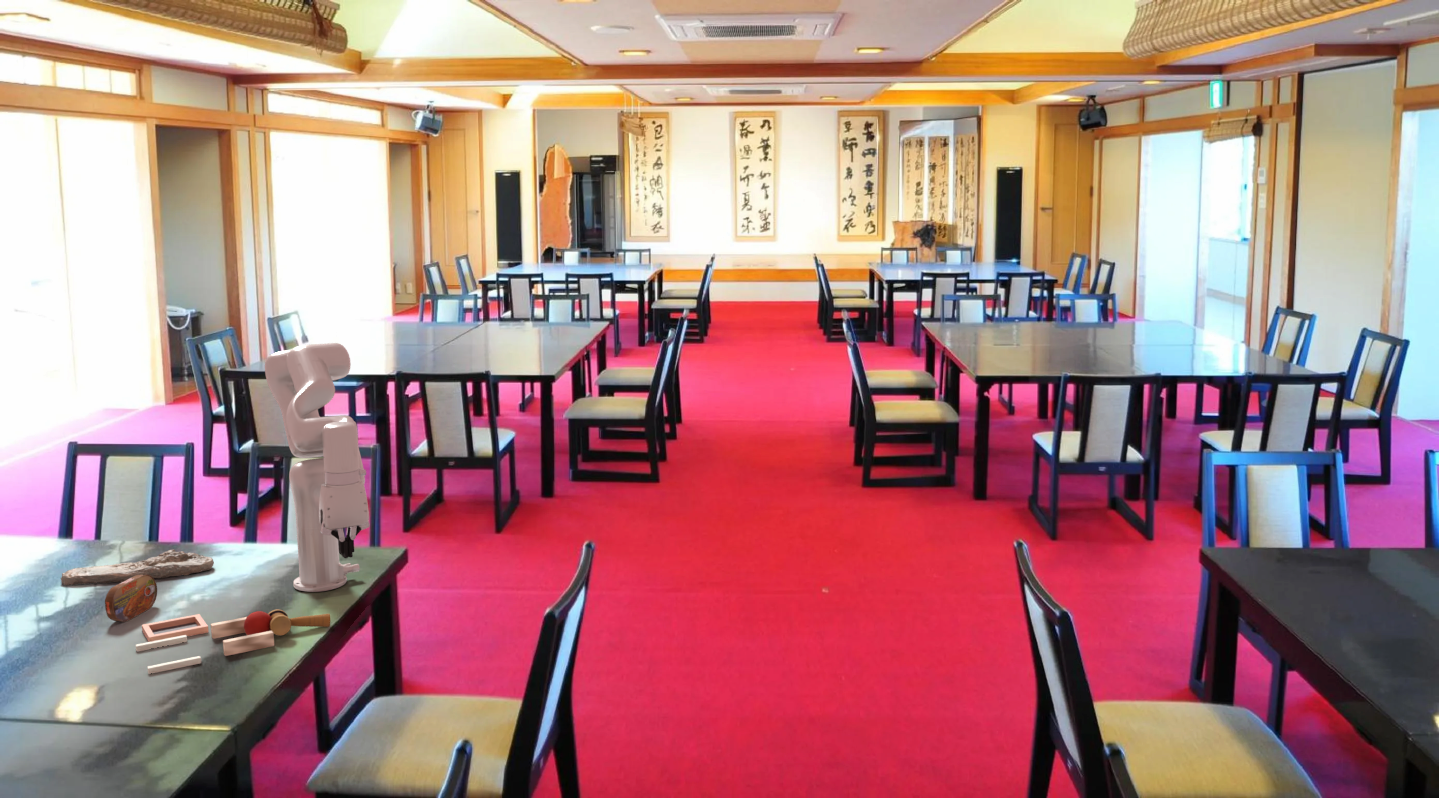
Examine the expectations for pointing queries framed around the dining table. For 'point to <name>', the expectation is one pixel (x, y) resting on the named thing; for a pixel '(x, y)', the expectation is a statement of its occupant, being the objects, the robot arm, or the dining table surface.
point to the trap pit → (175, 628)
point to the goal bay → (169, 664)
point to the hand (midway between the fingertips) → (346, 556)
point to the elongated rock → (140, 569)
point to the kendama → (281, 622)
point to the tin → (131, 598)
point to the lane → (242, 642)
